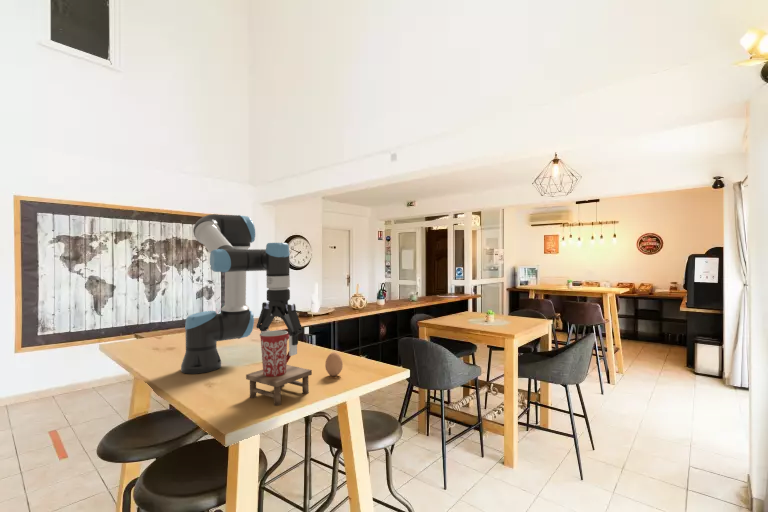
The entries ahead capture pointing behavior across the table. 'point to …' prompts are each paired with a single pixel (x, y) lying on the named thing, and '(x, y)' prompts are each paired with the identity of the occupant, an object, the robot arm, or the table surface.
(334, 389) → the table surface
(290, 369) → the stool
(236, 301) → the robot arm
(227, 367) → the table surface
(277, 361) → the mug
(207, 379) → the table surface
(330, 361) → the egg
